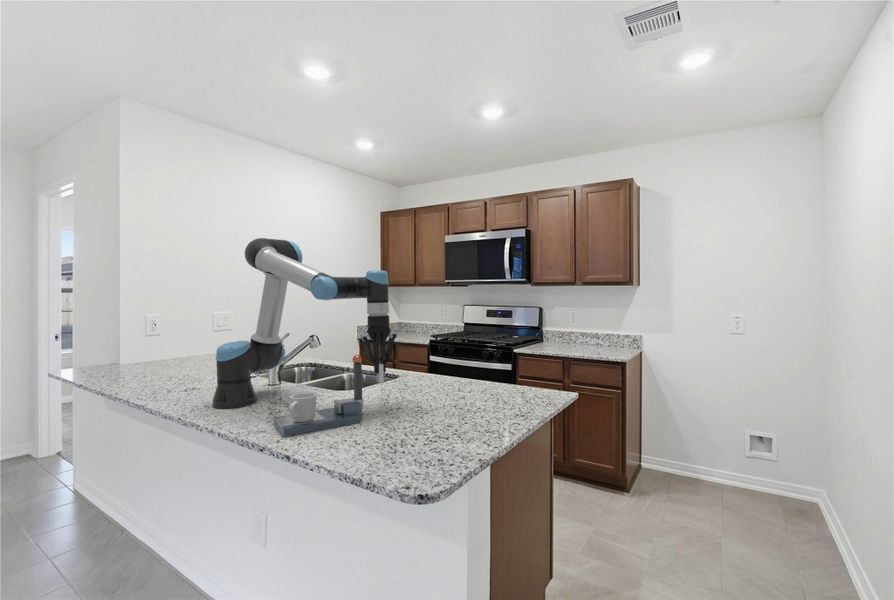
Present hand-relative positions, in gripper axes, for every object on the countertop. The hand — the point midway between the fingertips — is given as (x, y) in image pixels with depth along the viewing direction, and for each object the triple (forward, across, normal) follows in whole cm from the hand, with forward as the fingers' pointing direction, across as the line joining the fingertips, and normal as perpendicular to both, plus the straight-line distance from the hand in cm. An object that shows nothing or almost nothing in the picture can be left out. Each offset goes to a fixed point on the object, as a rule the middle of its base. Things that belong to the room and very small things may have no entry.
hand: (380, 382), depth 154 cm
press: (+11, -21, 0) cm, 24 cm away
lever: (+8, -11, 0) cm, 14 cm away
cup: (+8, -28, -3) cm, 29 cm away
